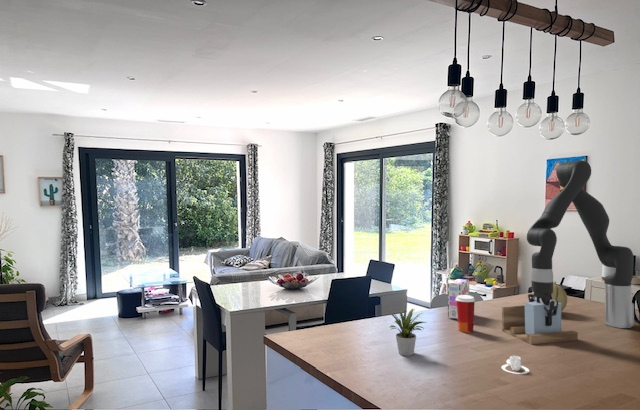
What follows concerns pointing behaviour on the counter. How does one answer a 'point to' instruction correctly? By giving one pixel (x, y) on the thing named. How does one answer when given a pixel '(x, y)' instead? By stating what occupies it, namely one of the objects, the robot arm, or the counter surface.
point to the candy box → (454, 290)
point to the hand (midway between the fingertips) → (543, 323)
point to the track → (516, 327)
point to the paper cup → (465, 313)
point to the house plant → (406, 332)
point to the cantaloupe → (559, 295)
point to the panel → (540, 319)
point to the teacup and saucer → (515, 365)
